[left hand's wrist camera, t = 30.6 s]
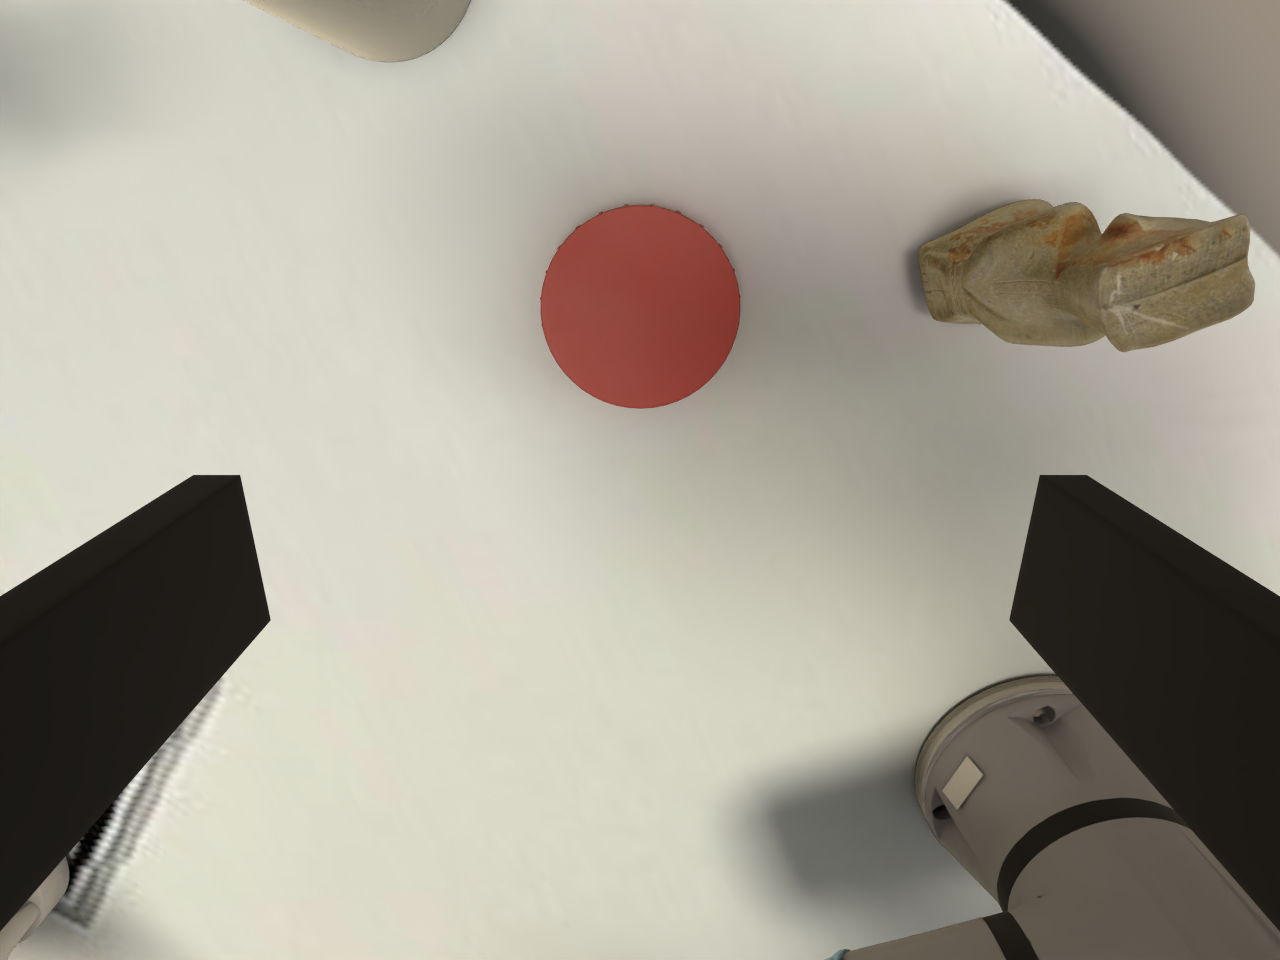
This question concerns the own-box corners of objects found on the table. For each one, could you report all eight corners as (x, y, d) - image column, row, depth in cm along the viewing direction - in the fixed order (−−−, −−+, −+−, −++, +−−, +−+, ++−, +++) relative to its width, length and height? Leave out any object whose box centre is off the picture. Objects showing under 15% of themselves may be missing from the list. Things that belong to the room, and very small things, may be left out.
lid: (771, 267, 39) (780, 272, 36) (674, 428, 42) (676, 442, 40) (602, 164, 37) (599, 163, 35) (513, 341, 40) (505, 350, 38)
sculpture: (1048, 294, 39) (1278, 350, 25) (913, 333, 40) (1061, 409, 26) (1038, 180, 37) (1281, 172, 23) (895, 223, 38) (1046, 240, 24)
